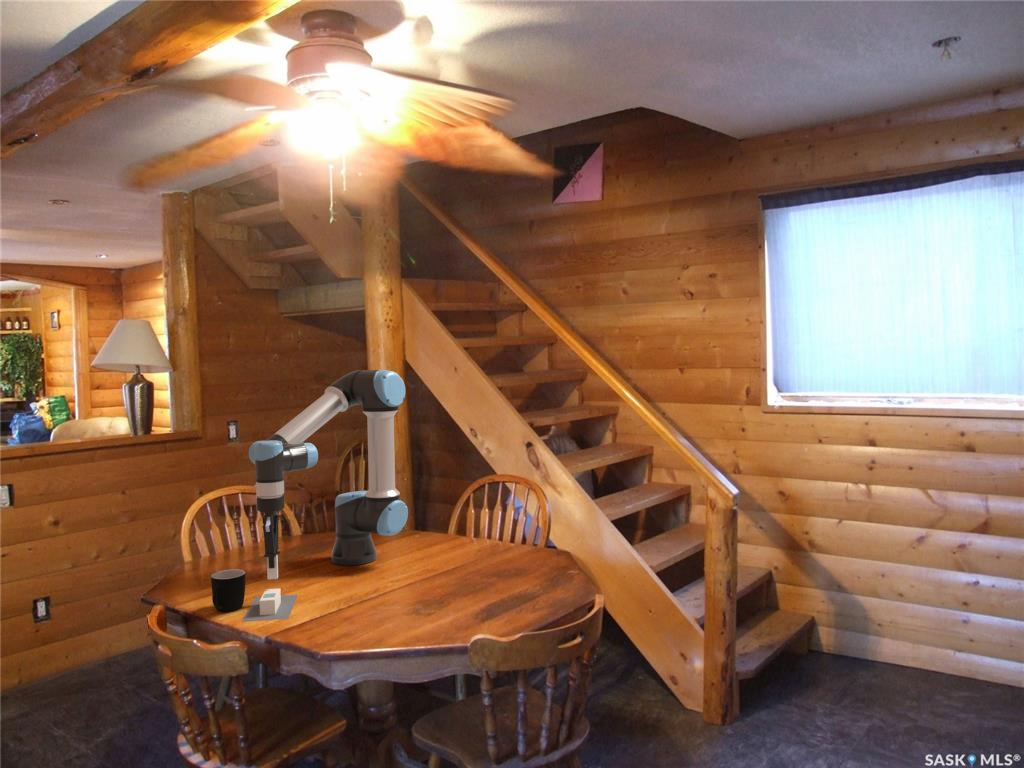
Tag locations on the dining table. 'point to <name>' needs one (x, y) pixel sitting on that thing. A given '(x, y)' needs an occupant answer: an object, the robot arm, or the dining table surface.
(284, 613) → the felt mat
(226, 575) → the mug
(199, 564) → the dining table surface
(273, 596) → the pillar
